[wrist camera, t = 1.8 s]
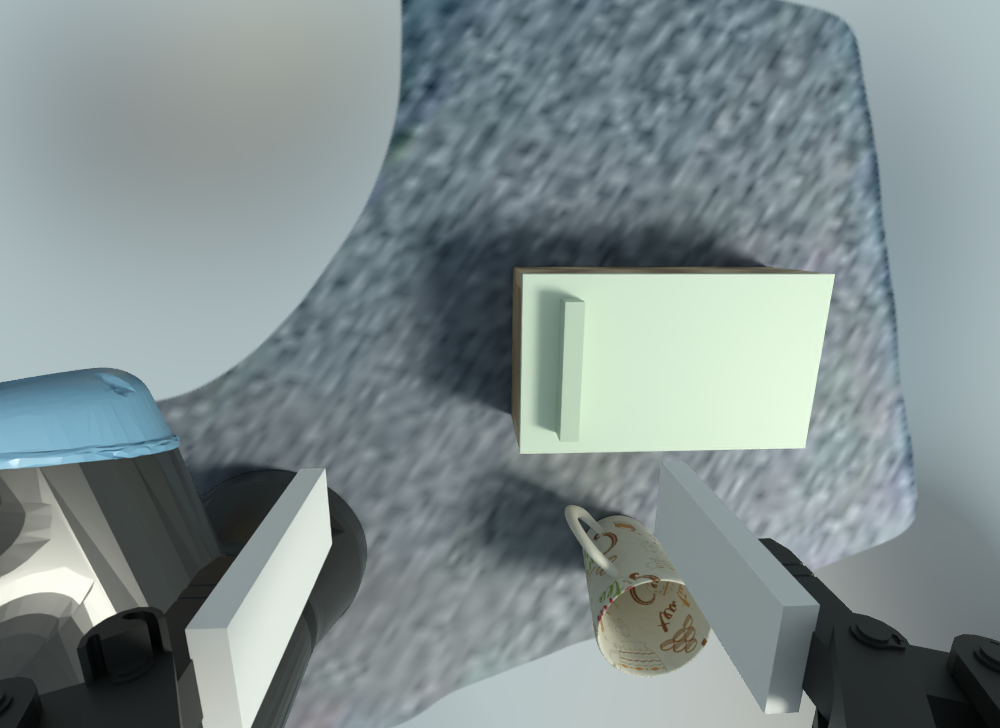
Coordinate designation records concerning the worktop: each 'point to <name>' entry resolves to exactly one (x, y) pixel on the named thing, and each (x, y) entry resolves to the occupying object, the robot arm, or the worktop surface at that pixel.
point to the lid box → (523, 269)
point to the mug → (637, 597)
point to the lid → (669, 360)
